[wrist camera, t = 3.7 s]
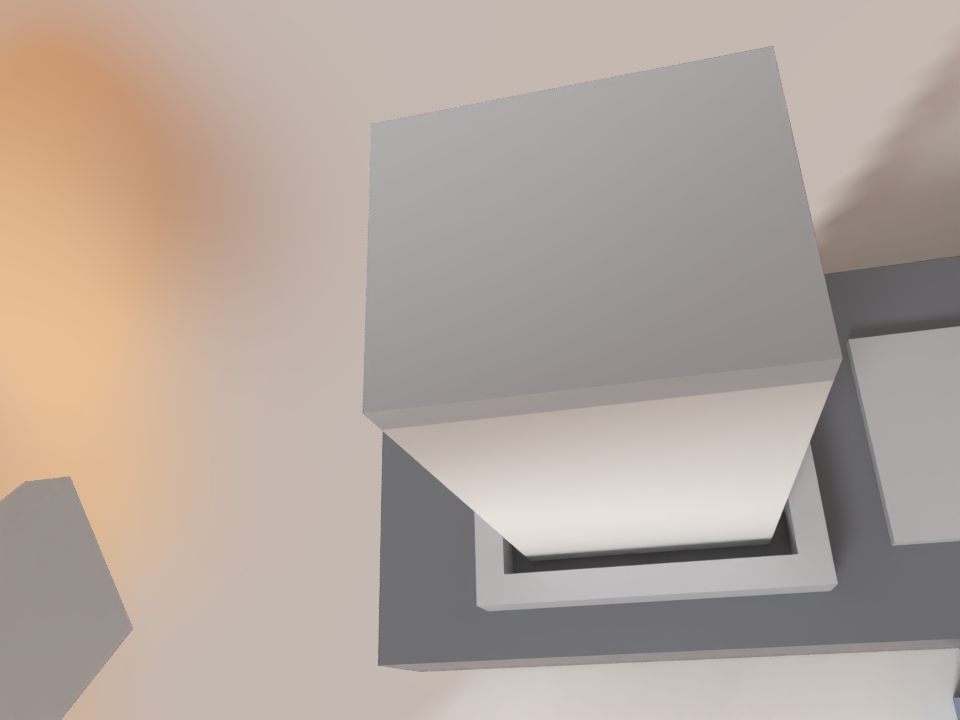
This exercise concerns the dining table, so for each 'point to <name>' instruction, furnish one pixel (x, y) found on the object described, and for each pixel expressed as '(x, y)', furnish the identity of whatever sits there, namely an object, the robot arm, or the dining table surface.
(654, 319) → the block
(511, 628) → the power strip
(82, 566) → the robot arm
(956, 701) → the mat
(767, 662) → the dining table surface
